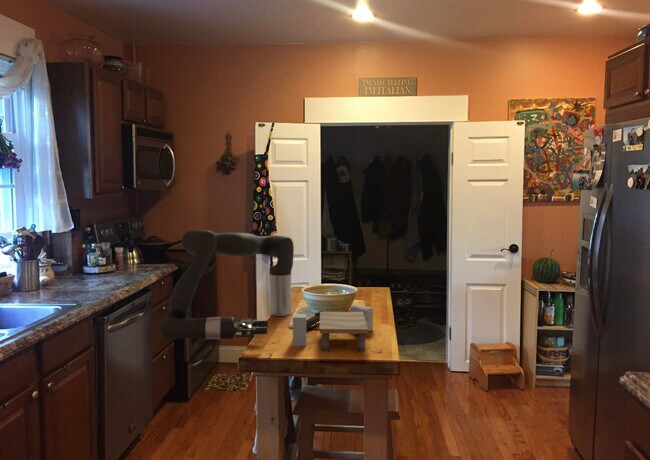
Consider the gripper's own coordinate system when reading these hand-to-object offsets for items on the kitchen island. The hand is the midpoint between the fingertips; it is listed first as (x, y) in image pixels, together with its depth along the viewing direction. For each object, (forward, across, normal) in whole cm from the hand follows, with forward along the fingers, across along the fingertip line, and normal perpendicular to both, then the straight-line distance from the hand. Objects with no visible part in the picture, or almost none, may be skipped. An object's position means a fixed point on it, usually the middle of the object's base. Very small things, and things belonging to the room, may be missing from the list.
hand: (267, 327), depth 181 cm
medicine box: (+36, +16, +6) cm, 40 cm away
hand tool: (+17, +22, +7) cm, 28 cm away
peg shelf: (+26, +1, +6) cm, 27 cm away
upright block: (+11, 0, +6) cm, 13 cm away
